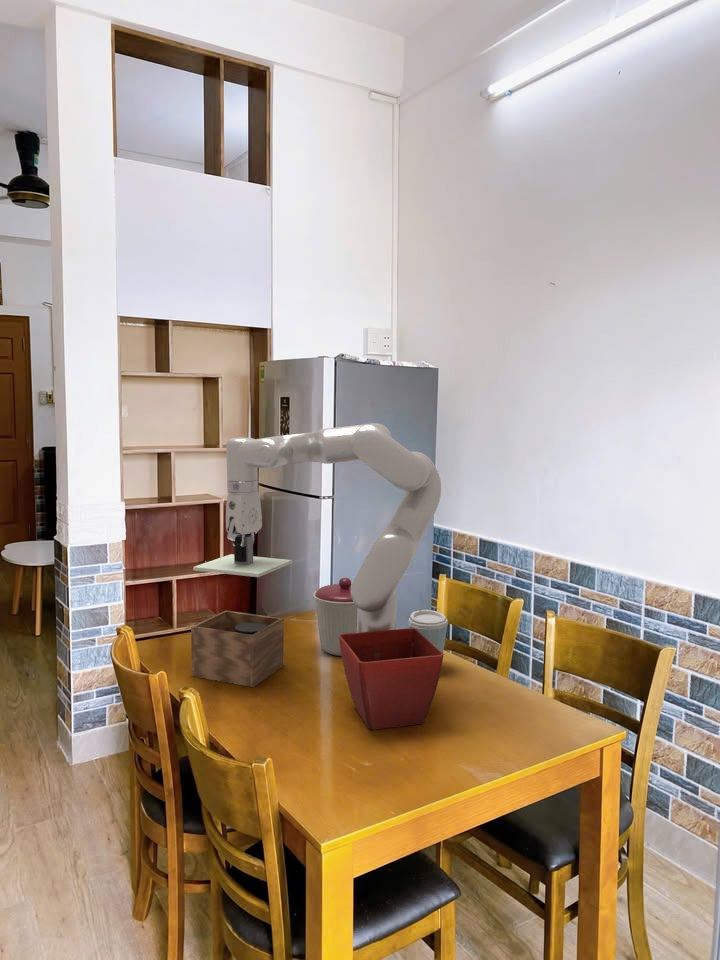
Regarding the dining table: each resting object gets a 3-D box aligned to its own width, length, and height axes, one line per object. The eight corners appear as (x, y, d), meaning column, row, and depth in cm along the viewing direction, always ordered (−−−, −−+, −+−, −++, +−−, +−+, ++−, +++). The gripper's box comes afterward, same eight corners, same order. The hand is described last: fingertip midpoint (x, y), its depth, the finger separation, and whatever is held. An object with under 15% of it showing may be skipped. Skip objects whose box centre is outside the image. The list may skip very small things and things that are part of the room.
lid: (292, 563, 185) (292, 533, 185) (258, 577, 170) (257, 544, 169) (230, 557, 193) (230, 528, 192) (193, 570, 178) (192, 538, 177)
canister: (379, 642, 214) (380, 572, 211) (371, 663, 196) (372, 587, 194) (319, 638, 216) (320, 569, 214) (306, 659, 198) (306, 584, 196)
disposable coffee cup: (455, 673, 189) (456, 617, 188) (419, 679, 185) (420, 622, 183) (433, 660, 199) (435, 607, 197) (399, 666, 194) (400, 611, 193)
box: (283, 665, 193) (283, 618, 192) (253, 687, 178) (253, 636, 177) (225, 656, 200) (225, 610, 198) (191, 676, 185) (191, 626, 184)
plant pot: (358, 739, 152) (359, 661, 150) (336, 703, 170) (337, 633, 168) (443, 729, 157) (445, 654, 155) (413, 695, 175) (415, 627, 173)
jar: (245, 680, 183) (245, 634, 182) (227, 671, 189) (227, 626, 187) (273, 671, 189) (273, 627, 188) (255, 663, 195) (255, 619, 194)
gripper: (237, 491, 171) (239, 568, 172) (272, 484, 185) (273, 555, 187) (211, 490, 173) (212, 565, 175) (247, 483, 188) (248, 553, 190)
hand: (243, 559), depth 181 cm, fingers closed on lid, 2 cm apart
